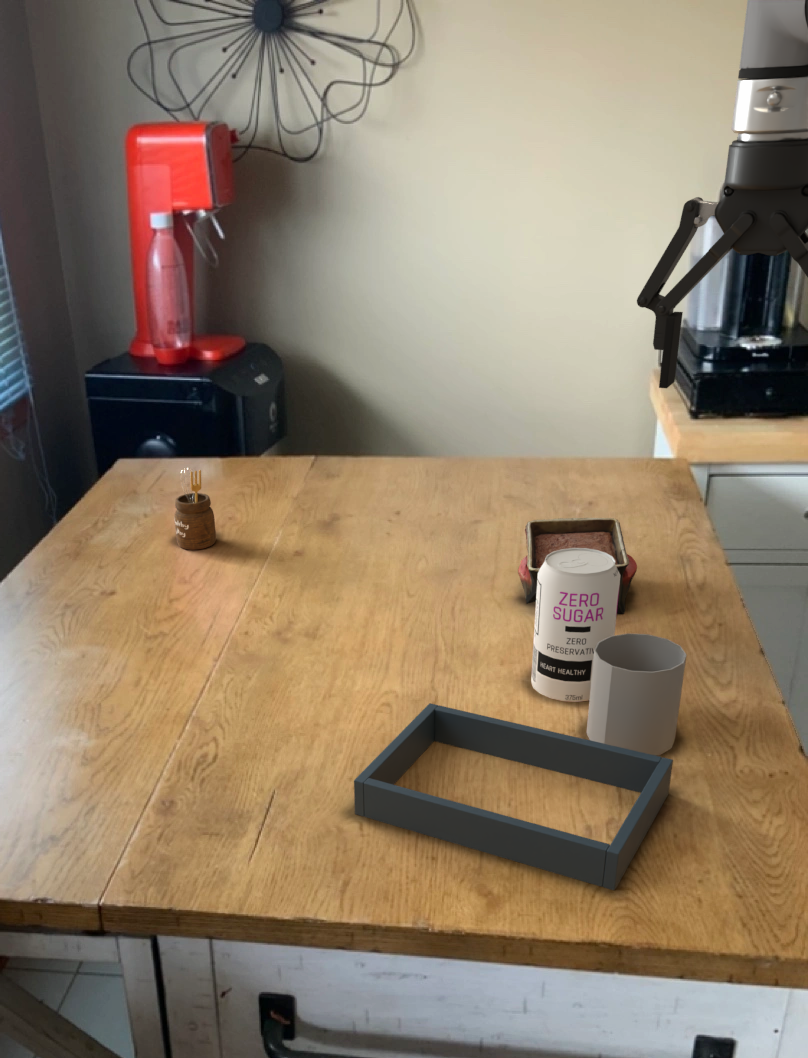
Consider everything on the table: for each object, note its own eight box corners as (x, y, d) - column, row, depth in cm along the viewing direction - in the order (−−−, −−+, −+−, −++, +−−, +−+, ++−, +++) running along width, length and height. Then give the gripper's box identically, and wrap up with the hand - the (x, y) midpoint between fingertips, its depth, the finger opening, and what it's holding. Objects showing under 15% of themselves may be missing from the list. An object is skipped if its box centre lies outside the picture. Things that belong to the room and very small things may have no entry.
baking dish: (508, 629, 141) (517, 560, 135) (521, 556, 154) (530, 490, 148) (627, 643, 138) (642, 574, 132) (630, 568, 151) (644, 501, 145)
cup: (647, 716, 117) (658, 628, 112) (690, 755, 110) (703, 664, 105) (572, 728, 116) (579, 640, 111) (609, 769, 108) (619, 677, 104)
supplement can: (582, 666, 127) (592, 540, 120) (623, 698, 120) (637, 567, 113) (517, 680, 125) (524, 553, 118) (555, 714, 118) (565, 581, 111)
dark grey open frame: (667, 800, 104) (673, 759, 101) (613, 897, 92) (618, 854, 90) (429, 740, 115) (429, 702, 113) (354, 820, 104) (353, 780, 102)
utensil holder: (209, 533, 172) (202, 456, 166) (222, 546, 167) (215, 467, 161) (172, 540, 170) (163, 462, 164) (184, 554, 165) (175, 474, 159)
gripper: (616, 143, 98) (596, 389, 109) (941, 133, 86) (883, 411, 97) (641, 137, 104) (620, 372, 114) (950, 127, 92) (894, 391, 102)
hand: (740, 390), depth 106 cm, fingers open, 13 cm apart
